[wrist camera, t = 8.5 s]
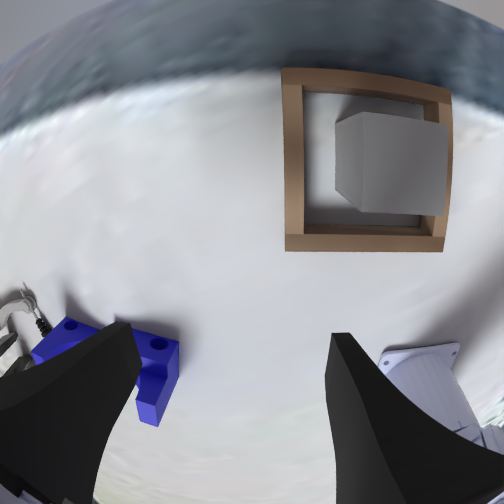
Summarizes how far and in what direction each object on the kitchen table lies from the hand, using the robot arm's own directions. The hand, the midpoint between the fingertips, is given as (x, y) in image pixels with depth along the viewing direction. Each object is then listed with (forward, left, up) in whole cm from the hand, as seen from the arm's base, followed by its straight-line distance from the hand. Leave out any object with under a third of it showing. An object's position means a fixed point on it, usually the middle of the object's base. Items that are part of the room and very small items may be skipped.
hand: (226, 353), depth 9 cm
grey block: (+6, -7, -10) cm, 13 cm away
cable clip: (-8, +12, -10) cm, 18 cm away
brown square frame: (+6, -7, -9) cm, 13 cm away
